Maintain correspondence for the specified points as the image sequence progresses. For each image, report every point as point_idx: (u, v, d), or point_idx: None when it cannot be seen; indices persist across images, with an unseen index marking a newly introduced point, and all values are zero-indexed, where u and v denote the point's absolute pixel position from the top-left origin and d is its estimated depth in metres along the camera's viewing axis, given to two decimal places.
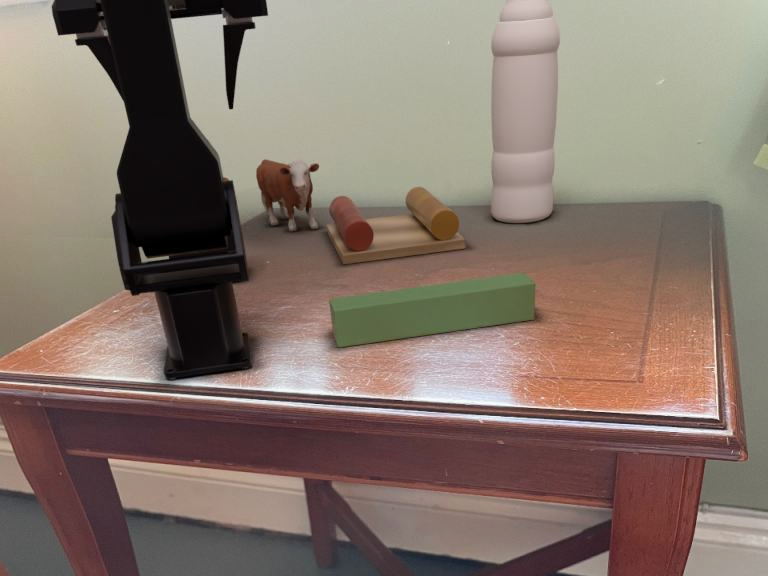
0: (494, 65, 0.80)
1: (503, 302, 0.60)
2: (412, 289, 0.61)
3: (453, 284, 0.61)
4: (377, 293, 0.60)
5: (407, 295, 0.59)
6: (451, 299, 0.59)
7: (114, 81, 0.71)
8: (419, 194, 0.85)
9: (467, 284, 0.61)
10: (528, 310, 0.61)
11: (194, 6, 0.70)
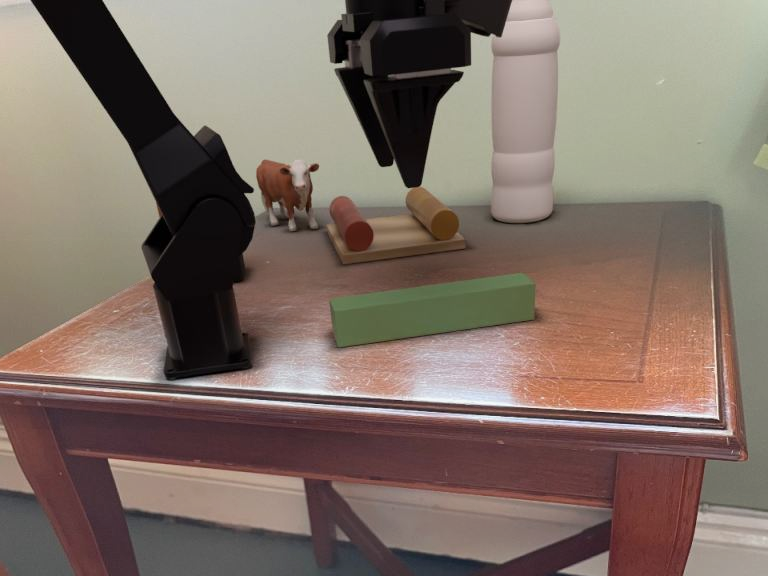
0: (494, 65, 0.80)
1: (503, 302, 0.60)
2: (412, 289, 0.61)
3: (453, 284, 0.61)
4: (377, 293, 0.60)
5: (407, 295, 0.59)
6: (451, 299, 0.59)
7: (358, 120, 0.60)
8: (419, 194, 0.85)
9: (467, 284, 0.61)
10: (528, 310, 0.61)
11: None
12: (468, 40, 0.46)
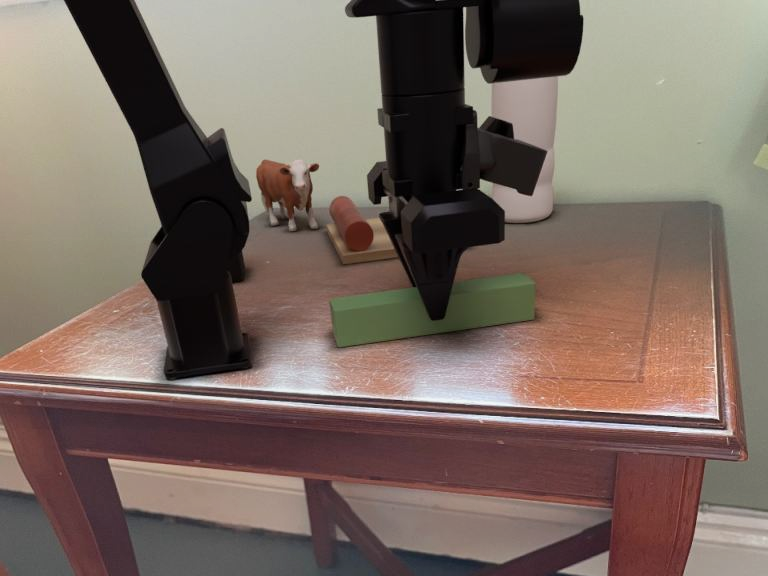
0: None
1: (503, 302, 0.60)
2: (412, 289, 0.61)
3: (453, 284, 0.61)
4: (377, 293, 0.60)
5: (407, 295, 0.59)
6: (451, 299, 0.59)
7: (401, 263, 0.61)
8: None
9: (467, 284, 0.61)
10: (528, 310, 0.61)
11: None
12: (502, 220, 0.49)
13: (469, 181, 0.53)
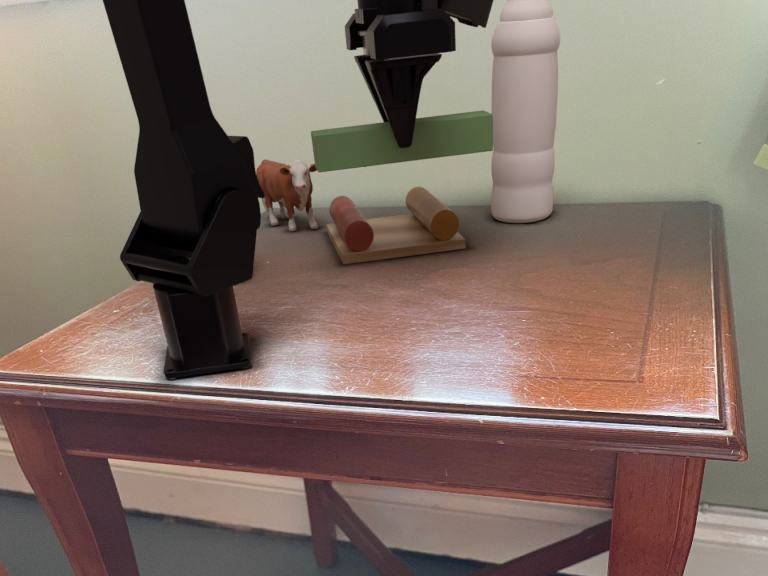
0: (494, 65, 0.80)
1: (464, 132, 0.68)
2: (384, 123, 0.69)
3: (420, 118, 0.69)
4: (353, 126, 0.68)
5: (379, 125, 0.67)
6: (417, 128, 0.67)
7: (374, 101, 0.69)
8: (419, 194, 0.85)
9: (433, 118, 0.68)
10: (487, 141, 0.68)
11: None
12: (453, 30, 0.57)
13: (428, 9, 0.61)
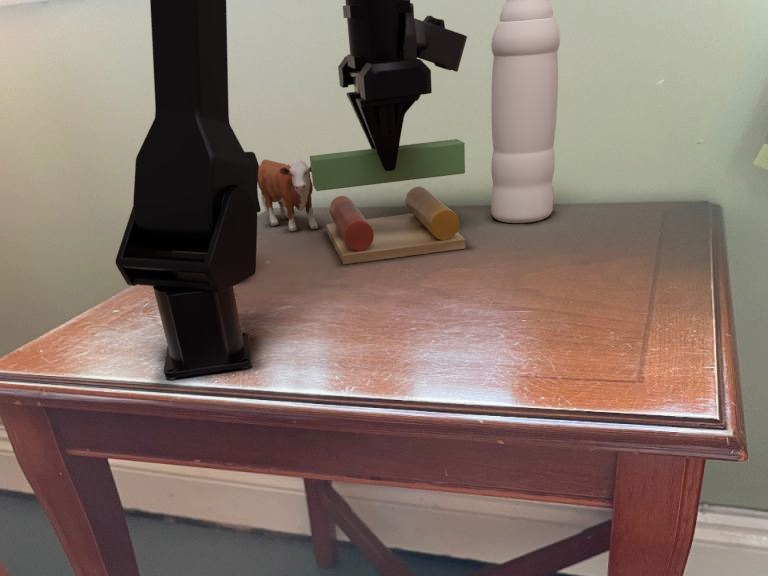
0: (494, 65, 0.80)
1: (440, 157, 0.80)
2: (372, 149, 0.80)
3: (403, 146, 0.81)
4: (346, 152, 0.80)
5: (368, 151, 0.79)
6: (401, 154, 0.79)
7: None
8: (419, 194, 0.85)
9: (413, 145, 0.80)
10: (460, 165, 0.80)
11: None
12: (429, 76, 0.69)
13: (409, 57, 0.73)
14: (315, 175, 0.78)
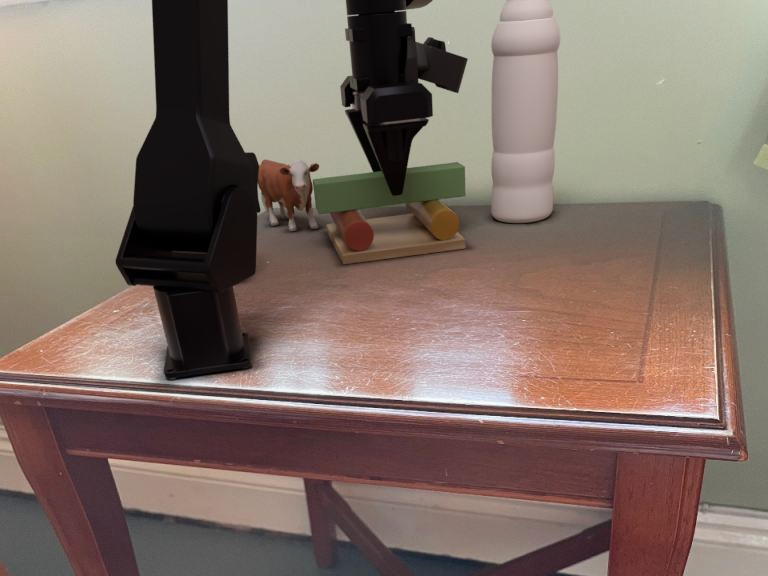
0: (494, 65, 0.80)
1: (441, 181, 0.81)
2: (374, 172, 0.82)
3: None
4: (348, 175, 0.81)
5: (370, 175, 0.81)
6: None
7: (361, 146, 0.84)
8: None
9: (415, 169, 0.82)
10: (460, 188, 0.82)
11: None
12: (430, 100, 0.70)
13: (410, 79, 0.74)
14: (318, 199, 0.80)
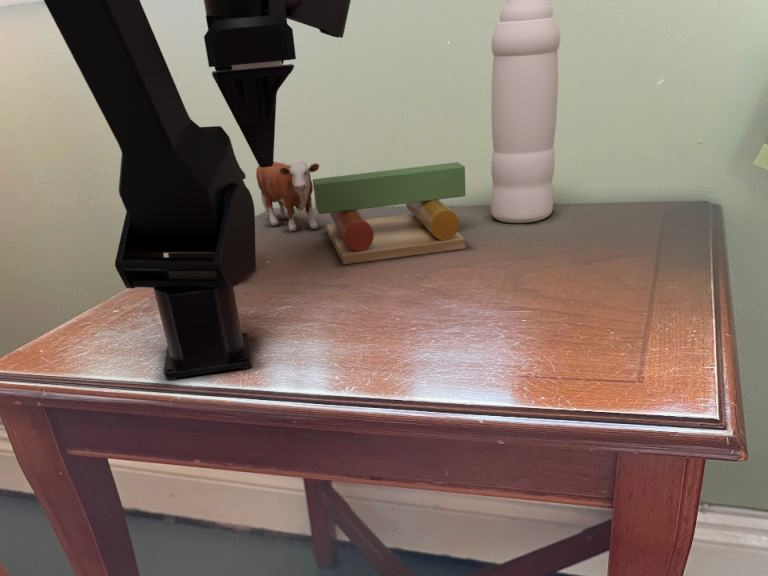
0: (494, 65, 0.80)
1: (441, 181, 0.81)
2: (374, 172, 0.82)
3: (404, 169, 0.82)
4: (348, 175, 0.81)
5: (370, 175, 0.81)
6: (402, 178, 0.80)
7: None
8: None
9: (415, 169, 0.82)
10: (460, 188, 0.82)
11: None
12: (290, 37, 0.53)
13: None
14: (318, 199, 0.80)
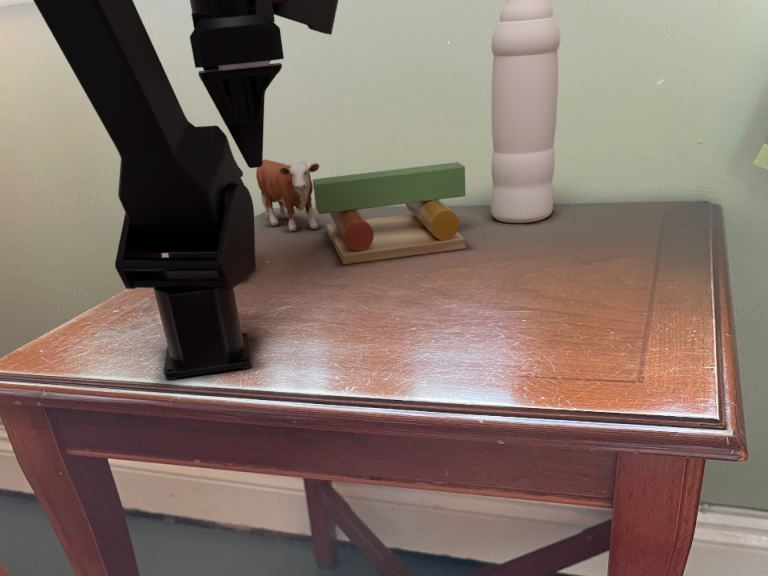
0: (494, 65, 0.80)
1: (441, 181, 0.81)
2: (374, 172, 0.82)
3: (404, 169, 0.82)
4: (348, 175, 0.81)
5: (370, 175, 0.81)
6: (402, 178, 0.80)
7: None
8: None
9: (415, 169, 0.82)
10: (460, 188, 0.82)
11: None
12: (278, 37, 0.52)
13: (263, 14, 0.57)
14: (318, 199, 0.80)
